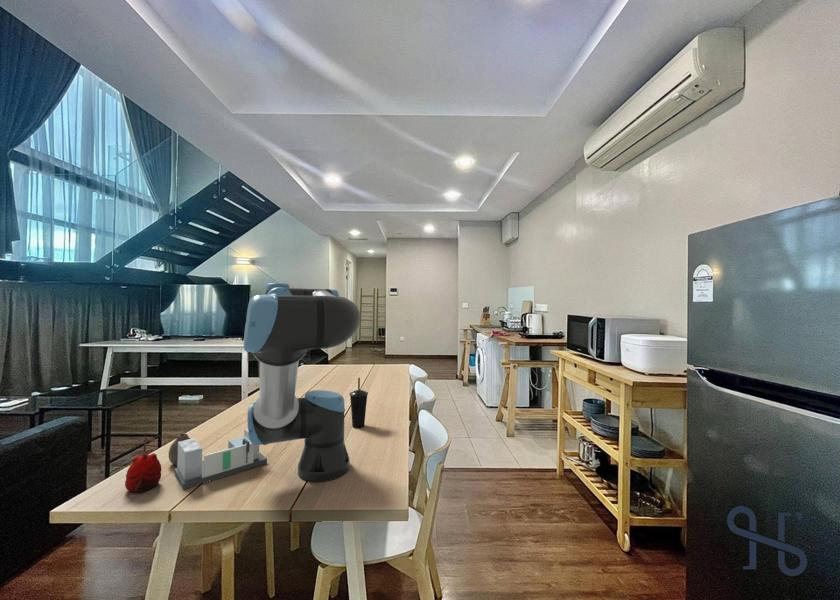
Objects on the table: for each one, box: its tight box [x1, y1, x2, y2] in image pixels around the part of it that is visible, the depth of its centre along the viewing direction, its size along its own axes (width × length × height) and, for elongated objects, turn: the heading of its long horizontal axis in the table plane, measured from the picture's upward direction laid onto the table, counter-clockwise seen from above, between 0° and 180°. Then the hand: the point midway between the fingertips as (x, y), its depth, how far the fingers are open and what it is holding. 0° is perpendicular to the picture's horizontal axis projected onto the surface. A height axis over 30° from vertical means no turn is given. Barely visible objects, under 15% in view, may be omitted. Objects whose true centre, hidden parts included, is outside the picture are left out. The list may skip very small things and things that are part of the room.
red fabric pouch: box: [124, 434, 162, 494], centre depth 92 cm, size 8×7×15 cm
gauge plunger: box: [227, 428, 260, 459], centre depth 106 cm, size 12×7×7 cm, turn 45°
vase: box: [168, 433, 191, 466], centre depth 106 cm, size 7×7×9 cm
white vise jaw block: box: [176, 437, 203, 482], centre depth 97 cm, size 10×4×8 cm, turn 45°
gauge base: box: [174, 443, 268, 490], centre depth 103 cm, size 12×22×8 cm, turn 135°
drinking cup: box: [348, 377, 369, 429], centre depth 140 cm, size 8×8×20 cm
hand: (276, 397), depth 115 cm, fingers open, 4 cm apart
